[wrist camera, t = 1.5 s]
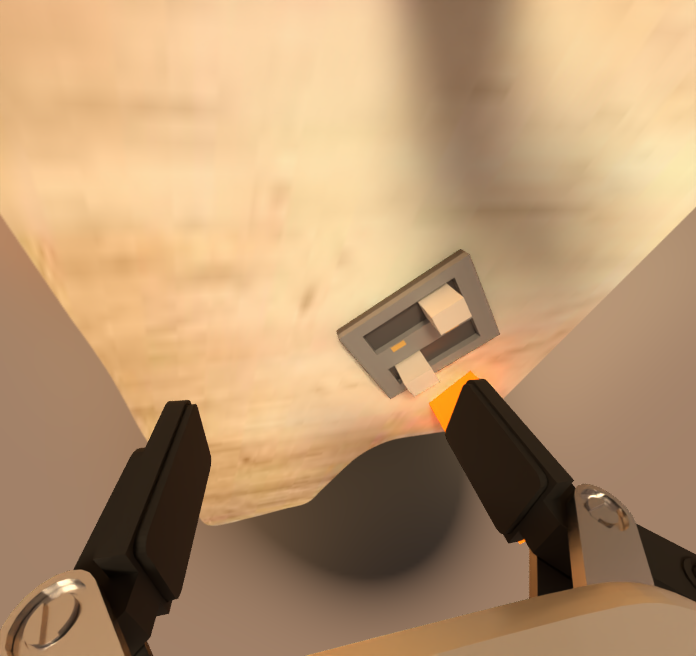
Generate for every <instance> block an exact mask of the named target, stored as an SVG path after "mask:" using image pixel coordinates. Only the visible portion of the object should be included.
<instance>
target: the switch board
mask: <svg viewBox="0 0 696 656" xmlns="http://www.w3.org/2000/svg"><path fill="white" fill-rule="evenodd" d="M445 283H447V284H448V285H449V286H450V287H452V288H453V289H454V290H455V291H456V292H458V293H459V294H460V295H461V296H462V297H464V299H465V302H466V304H467V306H468V308H469V311H470V313H471V315H472V317H470V318H468V319H467V320H465V321H464V322H462V323H460V324H459V325H457V326H455V327H454V328H452V329H450V330H449V331H447V332H446V333H444V334H442V335H441V334H440V333H439V332H438V331H437V329H436V328H435V327H434V326H433V325H432V324H431V322H430V321H429V320H428V319H427V318H426V316H425V314H424V313H423V311H422V309H421V307H420V306H419V304H418V302H417V301H419V300H420V299H422V298H424V297H425V296H427V295H428V294H430V293H431V292H433V291H434V290H436V289H437V288H439V287H441V286H442V285H444V284H445ZM337 334H338V338H339V340H340V341H341V342H342V343H343V345H344V346H345V347H346V348H347V349H348V350H349V351H350V353H351V354H352V355H353V356H354V357H355V358H356V360H357V361H358V362H359V363H360V364H361V365H362V367H363V368H364V369H365V370H366V371H367V372H368V374H369V375H370V376H371V377H372V378H373V379H374V381H375V382H376V383H377V384H378V385H379V386H380V387H381V389H382V390H383V391H384V392H385V393H386V394H387V396H388V397H389V398H390V399H391V398H393V397H395V396H396V395H398V394H400V393H402V392H403V391H405V390H407V387H406V386H405V385H404V383H403V381H402V379H401V377H400V375H399V373H398V371H397V369H396V367H395V365H396V364H398V363H399V362H401V361H403V360H404V359H406V358H408V357H409V356H411V355H412V354H414V353H416V352H417V351H419V350H420V352H421V353H422V355H423V356H424V358H425V359H426V361H427V362H428V364H429V365H430V367H431V368H432V370H433V371H434V373H435V372H437V371H439V370H440V369H442V368H444V367H446V366H447V365H449V364H451V363H452V362H454V361H456V360H457V359H459V358H461V357H462V356H464V355H466V354H468V353H469V352H471V351H473V350H474V349H476V348H478V347H479V346H481V345H483V344H484V343H486V342H488V341H490V340H491V339H493V338H495V337H496V336H498V335H500V333H499V330H498V327H497V325H496V322H495V320H494V317H493V314H492V312H491V309H490V307H489V304H488V301H487V299H486V296H485V294H484V291H483V288H482V286H481V283H480V281H479V278H478V275H477V273H476V270H475V268H474V265H473V262H472V260H471V257H470V254H468V253H466V252H465V251H463V250H461V249H460V250H458V251H457V252H455V253H454V254H452V255H451V256H449V257H448V258H446V259H445V260H443V261H442V262H440V263H439V264H437V265H436V266H434V267H432V268H431V269H429V270H428V271H426V272H425V273H423V274H422V275H420V276H419V277H417V278H416V279H414V280H413V281H411V282H410V283H408V284H407V285H405V286H404V287H402V288H401V289H399V290H398V291H396V292H395V293H393V294H392V295H390V296H388V297H387V298H385V299H384V300H382V301H381V302H379V303H378V304H376V305H375V306H373V307H372V308H370V309H369V310H367V311H366V312H364V313H363V314H361V315H360V316H358V317H357V318H355V319H354V320H352V321H351V322H349V323H347V324H346V325H344V326H343V327H341V328H340V329H338V330H337Z"/></svg>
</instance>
